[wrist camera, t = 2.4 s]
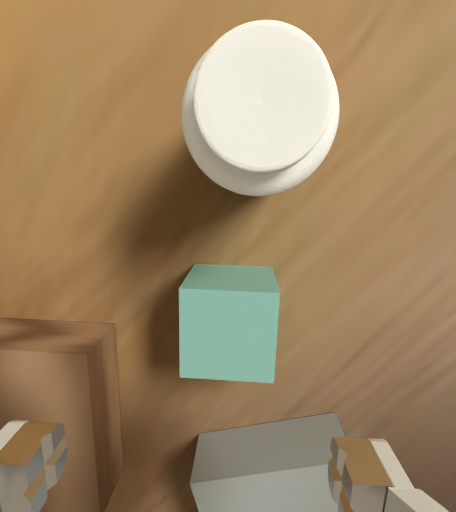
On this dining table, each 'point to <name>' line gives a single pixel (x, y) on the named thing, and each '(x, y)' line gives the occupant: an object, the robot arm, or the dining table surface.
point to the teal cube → (228, 323)
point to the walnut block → (67, 401)
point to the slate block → (266, 467)
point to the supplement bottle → (260, 108)
